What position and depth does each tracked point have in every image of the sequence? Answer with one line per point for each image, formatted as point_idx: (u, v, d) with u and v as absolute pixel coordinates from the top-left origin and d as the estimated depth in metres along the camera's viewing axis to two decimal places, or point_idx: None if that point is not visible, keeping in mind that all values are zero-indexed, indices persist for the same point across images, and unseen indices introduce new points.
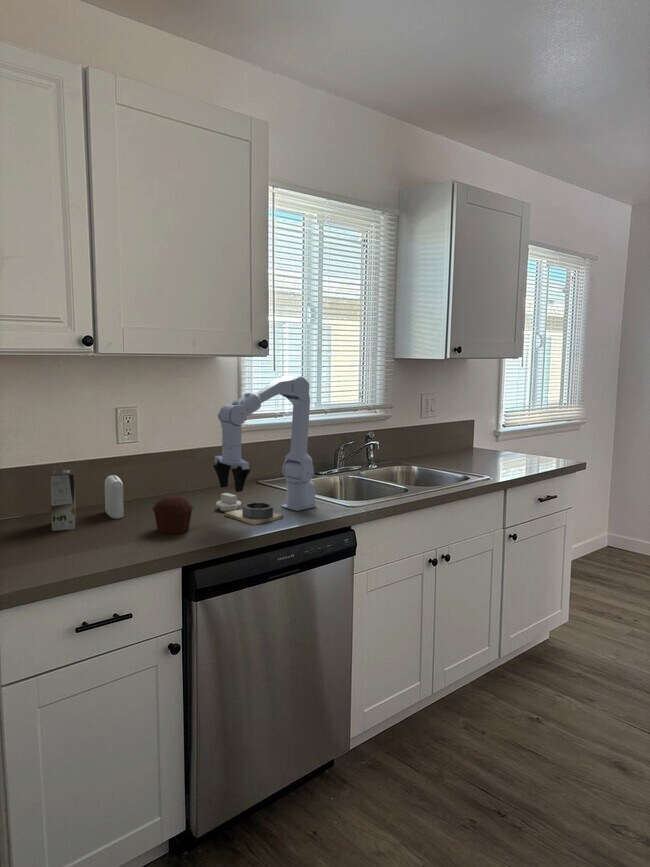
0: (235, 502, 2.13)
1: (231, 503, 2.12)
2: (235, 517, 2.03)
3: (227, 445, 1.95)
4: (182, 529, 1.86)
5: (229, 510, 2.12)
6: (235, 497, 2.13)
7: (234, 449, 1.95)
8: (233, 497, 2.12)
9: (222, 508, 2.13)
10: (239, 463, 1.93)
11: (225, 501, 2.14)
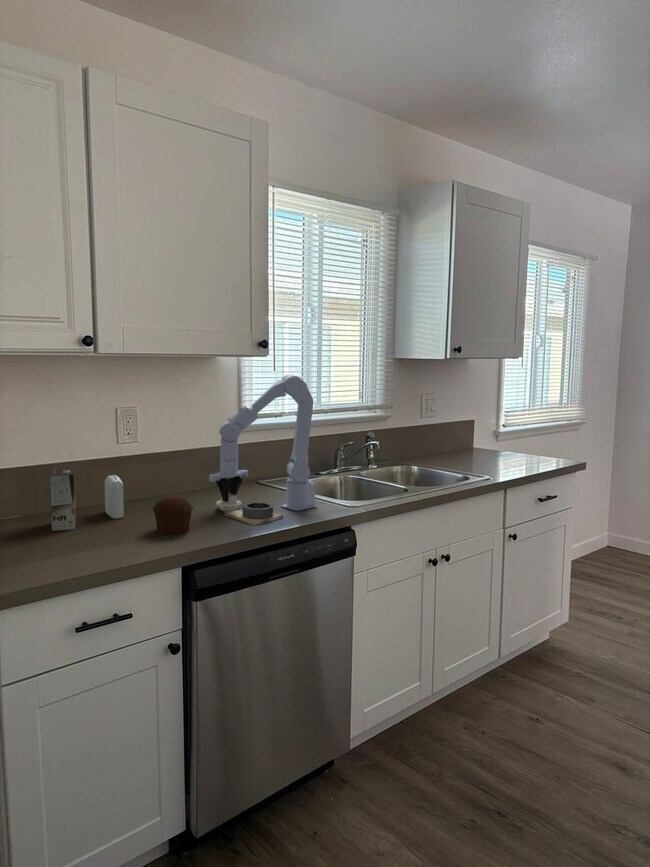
0: (235, 502, 2.13)
1: (231, 503, 2.12)
2: (235, 517, 2.03)
3: None
4: (182, 529, 1.86)
5: (229, 510, 2.12)
6: (235, 497, 2.13)
7: (220, 462, 2.12)
8: (233, 497, 2.12)
9: (222, 508, 2.13)
10: None
11: None
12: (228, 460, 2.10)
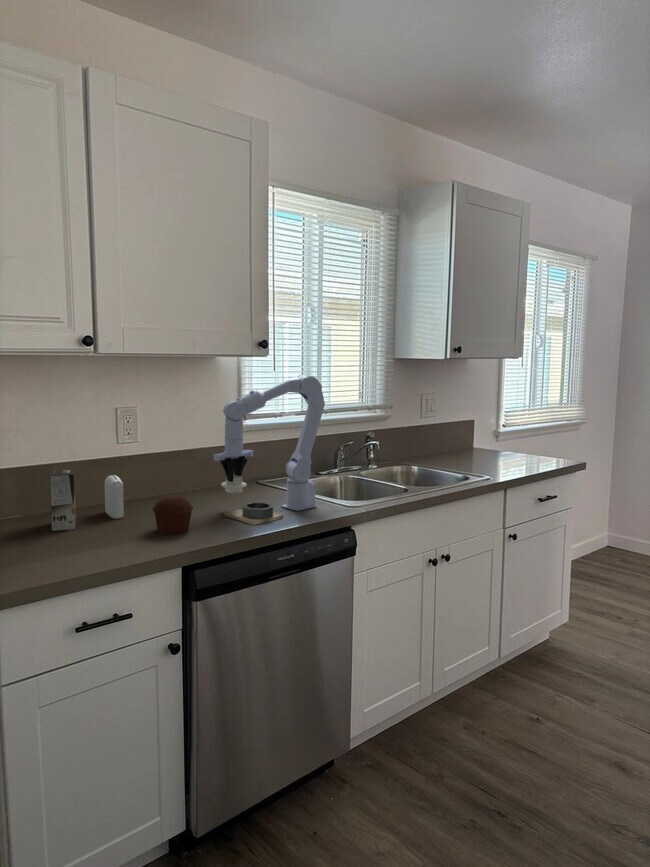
0: (240, 483, 2.11)
1: (236, 484, 2.10)
2: (235, 517, 2.03)
3: None
4: (182, 529, 1.86)
5: (234, 491, 2.10)
6: (240, 478, 2.10)
7: (225, 442, 2.09)
8: (238, 478, 2.10)
9: (227, 489, 2.10)
10: None
11: (230, 482, 2.11)
12: (233, 439, 2.07)
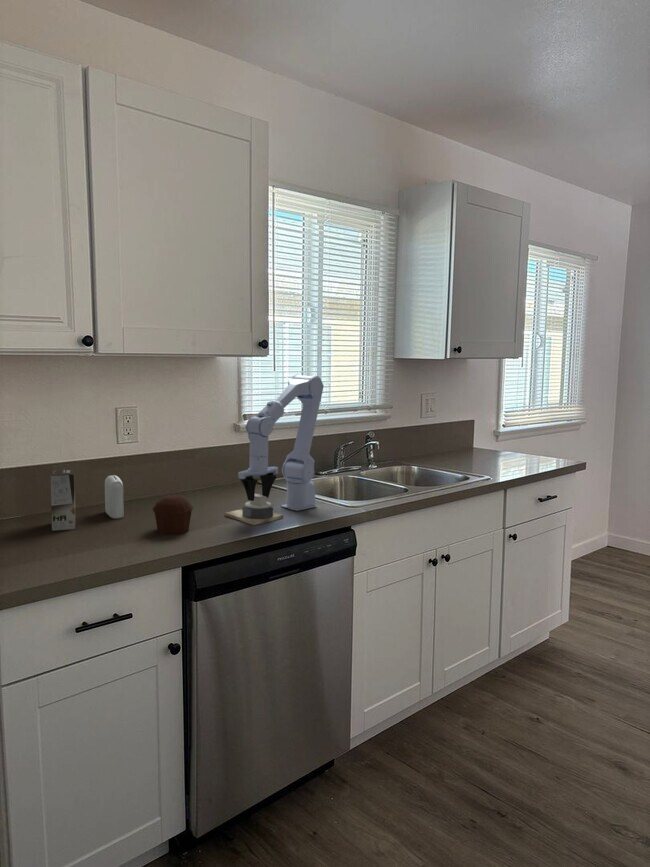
0: (265, 503, 2.03)
1: (261, 504, 2.02)
2: (235, 517, 2.03)
3: None
4: (182, 529, 1.86)
5: None
6: (265, 498, 2.03)
7: (250, 459, 2.01)
8: (263, 498, 2.02)
9: None
10: None
11: (254, 502, 2.04)
12: (258, 456, 2.00)
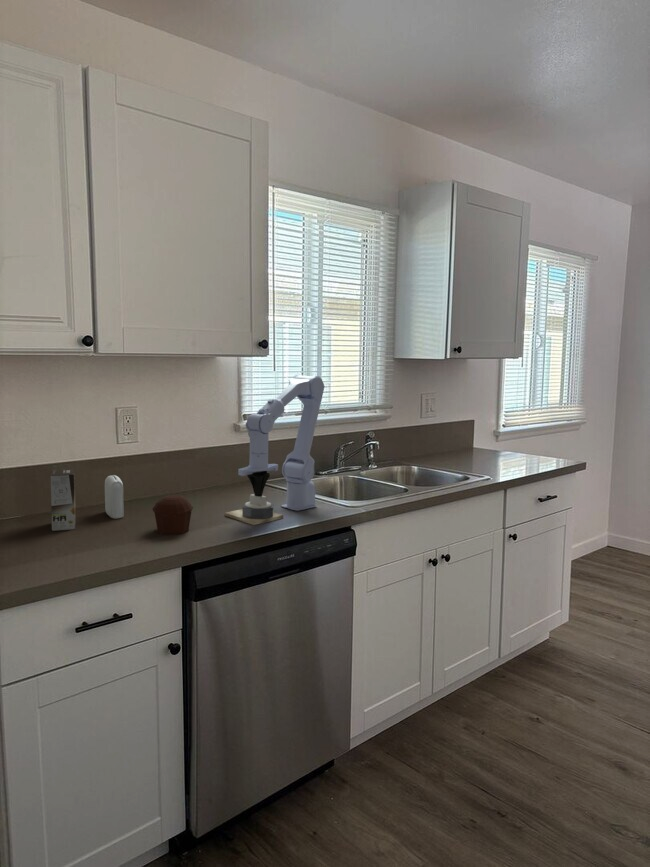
0: (265, 503, 2.03)
1: (261, 504, 2.02)
2: (235, 517, 2.03)
3: None
4: (182, 529, 1.86)
5: None
6: (265, 498, 2.03)
7: (250, 456, 2.01)
8: (263, 498, 2.02)
9: None
10: None
11: (254, 502, 2.04)
12: (258, 453, 1.99)
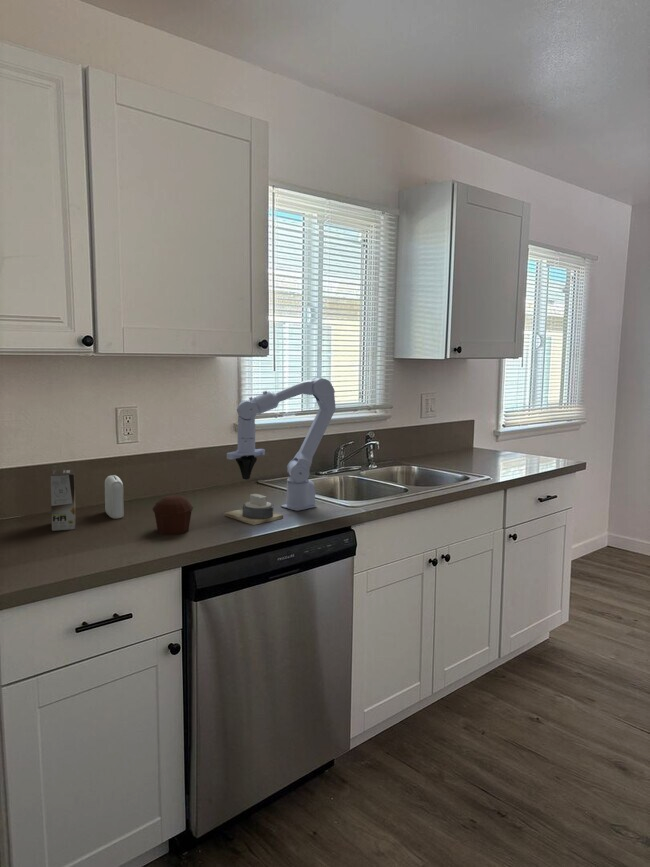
0: (265, 503, 2.03)
1: (261, 504, 2.02)
2: (235, 517, 2.03)
3: None
4: (182, 529, 1.86)
5: None
6: (265, 498, 2.03)
7: (238, 441, 2.12)
8: (263, 498, 2.02)
9: None
10: None
11: (254, 502, 2.04)
12: (245, 438, 2.11)
